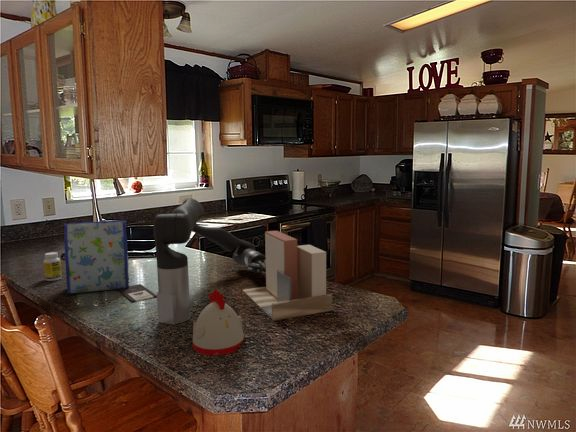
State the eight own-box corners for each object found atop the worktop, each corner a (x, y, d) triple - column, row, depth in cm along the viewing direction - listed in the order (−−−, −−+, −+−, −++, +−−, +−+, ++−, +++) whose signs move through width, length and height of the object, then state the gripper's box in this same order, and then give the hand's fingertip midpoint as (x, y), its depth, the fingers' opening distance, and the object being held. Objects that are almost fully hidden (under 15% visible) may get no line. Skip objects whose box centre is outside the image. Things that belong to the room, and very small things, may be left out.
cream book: (296, 300, 147) (295, 246, 144) (309, 297, 149) (309, 244, 146) (311, 311, 136) (311, 253, 134) (326, 309, 138) (326, 251, 136)
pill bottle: (54, 281, 175) (52, 255, 174) (41, 281, 177) (38, 254, 175) (65, 277, 181) (63, 251, 180) (52, 276, 183) (50, 251, 181)
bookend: (261, 307, 140) (260, 272, 138) (279, 305, 143) (278, 270, 141) (272, 318, 131) (271, 280, 129) (291, 315, 134) (291, 278, 132)
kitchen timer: (206, 360, 108) (203, 303, 105) (184, 341, 119) (181, 289, 116) (253, 345, 116) (252, 292, 113) (229, 328, 127) (227, 279, 124)
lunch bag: (130, 278, 179) (125, 216, 175) (131, 289, 164) (126, 222, 160) (71, 284, 171) (65, 220, 168) (66, 297, 156) (59, 227, 152)
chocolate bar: (140, 284, 169) (157, 295, 155) (140, 286, 169) (157, 298, 155) (116, 288, 164) (131, 301, 150) (117, 290, 164) (132, 303, 150)
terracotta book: (265, 290, 158) (264, 231, 155) (277, 288, 160) (276, 230, 157) (285, 305, 142) (284, 240, 138) (297, 303, 144) (297, 239, 140)
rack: (242, 292, 159) (242, 276, 158) (291, 285, 167) (291, 270, 166) (274, 323, 130) (273, 304, 129) (332, 313, 138) (332, 295, 137)
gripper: (240, 254, 171) (254, 264, 155) (271, 250, 176) (287, 260, 160) (240, 272, 172) (254, 284, 156) (271, 268, 177) (288, 279, 161)
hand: (271, 271), depth 158 cm, fingers closed
